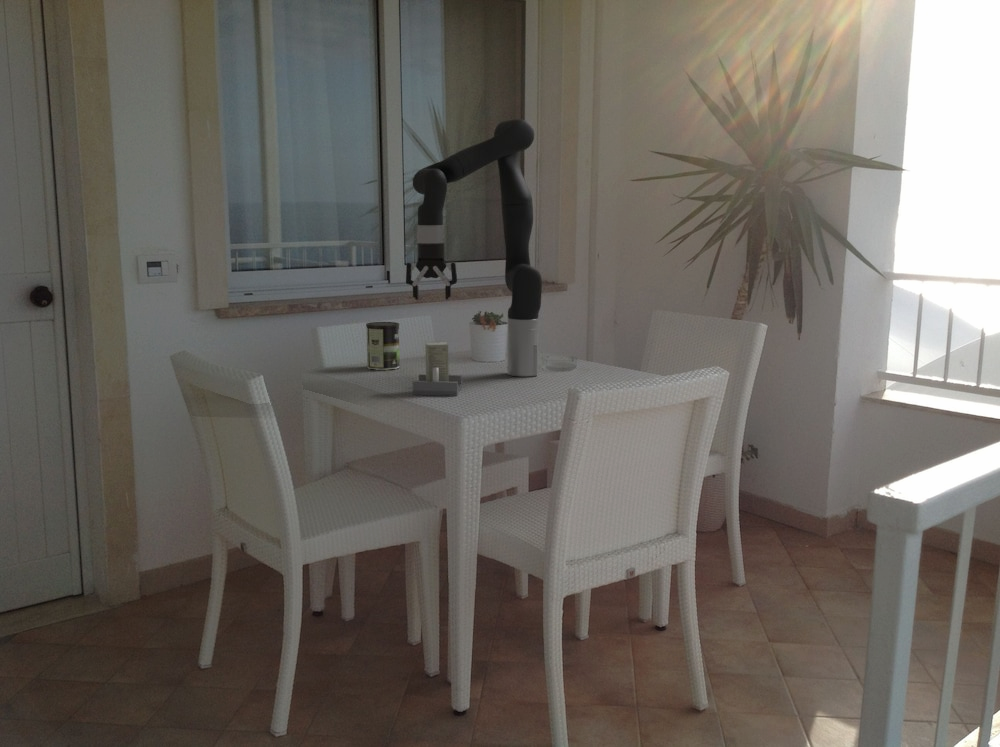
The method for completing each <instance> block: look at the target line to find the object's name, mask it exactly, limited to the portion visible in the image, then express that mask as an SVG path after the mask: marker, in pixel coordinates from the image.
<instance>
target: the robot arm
mask: <svg viewBox="0 0 1000 747" xmlns="http://www.w3.org/2000/svg"><path fill="white" fill-rule="evenodd" d="M534 140H535V129H534V127H533V125H532V124H531V122H529V121H527V120H525V119H522V118H521V119H520V118H516V119H515V118H514V119H510V120H508V119H507V120H503V121H501V122H499V123H498V124H497V125H496V127H495V129H494V133H493V137H491V138H488V139H486V140H484V141H481V142H479V143H476V144H473V145H471V146H469V147H466V148H463V149H462V150H459V151H457V152H456V153H453V154H451V155H449V156H448V157H446V158H444V159H442V160H441V161H438V162H435V163H433V164H430V165H428V166H425V167H423V168H421V169H420V170H418V171H417V172H416V173H415V174H414V176H413V177H412V187H413V189H414V190H415V192H417V193H419V194H421V195H423V202H422V203H421V204H420V205H419V206H418V207H417V232H416V233H417V235H416V236H417V237H416V242H417V246H416V247H417V262H410V261H409V262H407V263H406V271H405V272H406V273H405V284H407V285H409V286H412V297H413V299H414V298H415V300H416V301H417V300H418V301H419V296H420V295H419V294H420V293H419V291H420V290H419V284H420V282H421V280H422V279H423V278H425V279H430V278H433V279H437V278H440V280H441V281H442V282H443V283H444V285H445V286H444V287H445V289H444V290H445V291H444V293H445V294H444V295H445V298H444V299H445V300H446V301H447V300H449V298H451V296H452V290H451V289H452V288H451V287H452V285H455V284H457V282H458V277H457V276H458V274H457V263H456V262H455V261H453V262H446V260H445V259H446V258H445V257H446V256H445V231H444V211H443V210H444V205H445V202H446V196H447V192H448V191H447V189H448V184H450V183H454V182H455V183H456V182H458V181H461V180H462V179H464V178H466V177H469V175H471V174H474V173H475V172H477V171H478V170H481V169H482V168H484V167H486V166H489V165H490V164H491V163H493V162H496V161H497V167H498V168H497V169H498V173H499V174H498V177H499V186H500V188H499V189H500V200H501V202H500V203H501V204H500V205H501V217H502V225H503V226H502V227H503V236H504V237H503V238H504V245H505V265H504V266H505V268H504V270H505V271H504V281H505V286H506V287H507V289H508V290H509V291H510V292H511V304H510V307H509V308H508V310H507V345H506V346H507V348H506V349H507V350H506V351H507V353H506V354H507V355H506V357H507V358H506V359H507V361H506V364H507V366H506V373H507V375H509V376H513V377H538V372H539V371H538V369H539V364H538V363H539V313H540V310H541V307H542V306H541V305H542V292H543V290H542V288H543V286H542V284H543V281H542V280H543V279H542V275H541V273H540V271H539V270H538V269H537V268H536V267H534V266H532V265H531V260H530V249H529V246H530V245H529V244H530V239H531V234H532V230H533V226H534V225H533V224H534V209H533V208H534V207H533V205H534V204H533V195H532V193H531V191H530V188H529V186H528V184H527V182H526V179H525V178H524V175H523V173H522V169H521V164H520V153H521V152H523V151H526V150H527V149H529V147H531V146H532V144H533V142H534ZM415 268H416V269H417V270H418V272H419V273H418V275H417V277H415V279H414V280H412V276H413V275H412V273H413V272H412V271H414V270H415ZM446 268H448V270H449V271H451V280H450V279H449V278H448V277H447V275H446V274H445V273H444V271H445V269H446Z"/></svg>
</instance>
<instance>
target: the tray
mask: <svg viewBox="0 0 1000 747" xmlns="http://www.w3.org/2000/svg"><path fill="white" fill-rule="evenodd" d="M462 388H463V375H462V374H449V382H448V381H439V368H433V381H426V373H419V374H418V380H413V381H412V395H413V396H445V395H449V396H451V397H452V396H456V397H457V396H458V395H459V393H460V392H461V390H462ZM459 391H460V392H459Z"/></svg>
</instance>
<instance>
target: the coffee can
mask: <svg viewBox="0 0 1000 747" xmlns="http://www.w3.org/2000/svg"><path fill="white" fill-rule="evenodd" d="M365 326H366V357H367V359H366V360H367V362H366V363H367V367H366V368H370V369H376V370H375V371H378V370H385V371H389V370H388V369H396V370H398V369H397V368H399V367H400V323H399V322H395V321H374V322H373V321H372V322H367V323H366V324H365ZM370 369H369V370H370ZM399 369H400V368H399Z"/></svg>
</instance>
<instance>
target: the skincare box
mask: <svg viewBox="0 0 1000 747" xmlns="http://www.w3.org/2000/svg"><path fill="white" fill-rule="evenodd" d="M424 348H425V374H426V381H433V368H439V381H448V382H449V375H450V374H449V370H450V369H449V365H450V364H449V343H448V342H447V341H442V342H441V341H438V342H437V341H435V342H432V341H431V342H425V347H424Z"/></svg>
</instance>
